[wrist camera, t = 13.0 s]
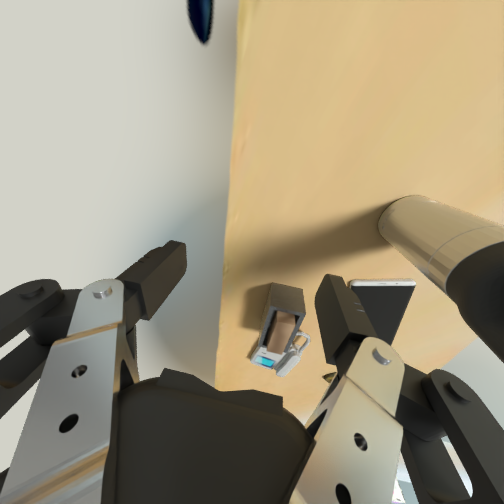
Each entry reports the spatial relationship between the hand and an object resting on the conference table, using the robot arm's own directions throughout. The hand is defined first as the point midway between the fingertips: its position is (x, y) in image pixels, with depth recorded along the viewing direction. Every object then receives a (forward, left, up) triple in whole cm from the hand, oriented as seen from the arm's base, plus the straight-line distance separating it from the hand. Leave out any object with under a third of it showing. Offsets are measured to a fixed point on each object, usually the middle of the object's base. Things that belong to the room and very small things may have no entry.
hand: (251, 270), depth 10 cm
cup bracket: (-9, +32, -28) cm, 44 cm away
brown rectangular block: (-9, +32, -23) cm, 41 cm away
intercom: (-13, +49, -29) cm, 59 cm away
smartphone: (-33, +29, -29) cm, 53 cm away
